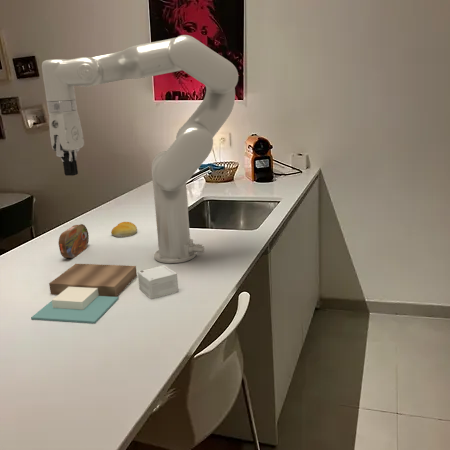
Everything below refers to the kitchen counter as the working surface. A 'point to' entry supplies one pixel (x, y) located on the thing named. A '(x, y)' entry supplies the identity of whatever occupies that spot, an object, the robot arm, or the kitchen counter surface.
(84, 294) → the tile
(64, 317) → the mat
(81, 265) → the board
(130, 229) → the bread roll
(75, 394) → the kitchen counter surface
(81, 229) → the tin
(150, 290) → the small box
